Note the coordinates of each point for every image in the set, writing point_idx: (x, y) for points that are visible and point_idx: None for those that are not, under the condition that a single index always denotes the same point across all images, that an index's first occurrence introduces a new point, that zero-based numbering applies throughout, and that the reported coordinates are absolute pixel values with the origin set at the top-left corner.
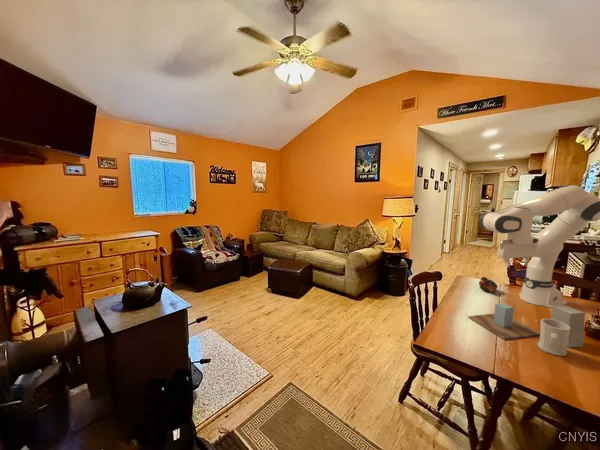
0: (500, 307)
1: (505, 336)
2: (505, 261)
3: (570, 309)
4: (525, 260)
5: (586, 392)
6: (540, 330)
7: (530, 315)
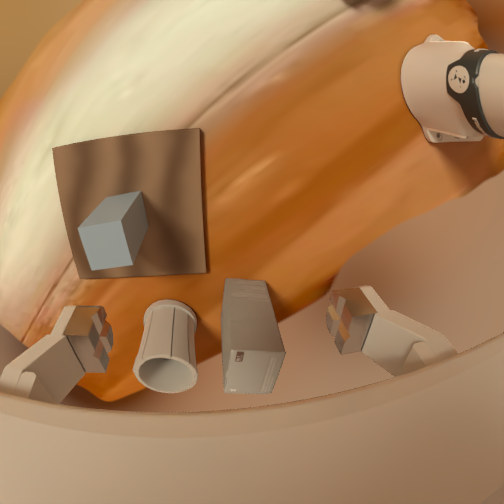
0: (86, 248)
1: (88, 272)
2: (39, 359)
3: (257, 377)
4: (380, 353)
5: (126, 389)
6: (146, 336)
7: (310, 157)
